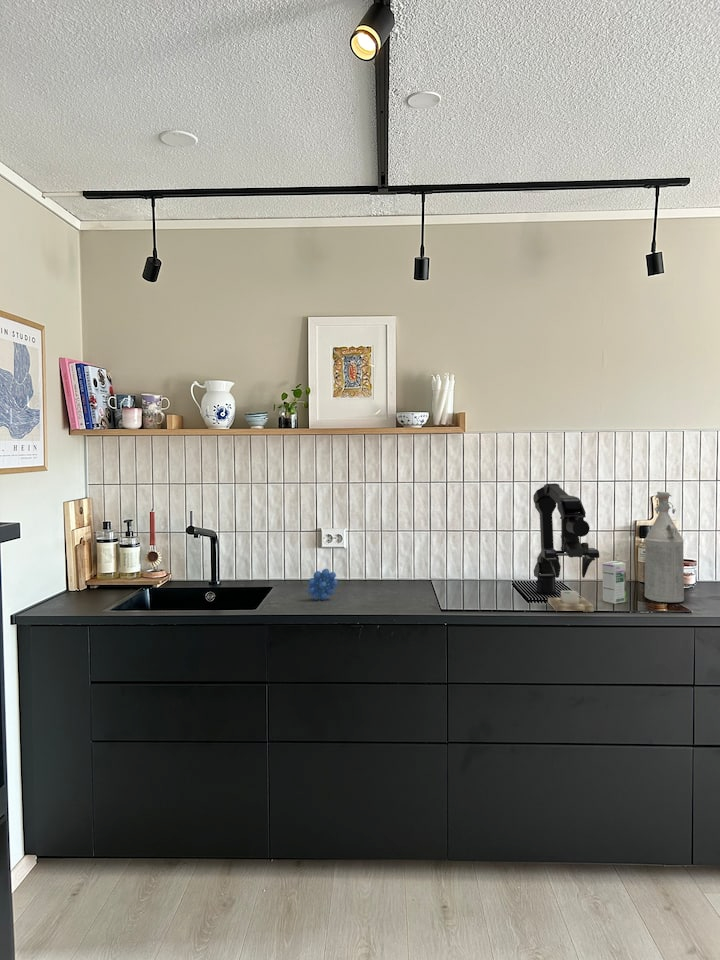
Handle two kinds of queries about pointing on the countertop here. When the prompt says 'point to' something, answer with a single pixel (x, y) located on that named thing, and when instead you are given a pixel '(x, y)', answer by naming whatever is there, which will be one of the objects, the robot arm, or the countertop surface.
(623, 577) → the syrup box
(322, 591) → the grapes
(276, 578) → the countertop surface
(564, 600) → the cream block
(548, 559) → the robot arm
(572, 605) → the socket block
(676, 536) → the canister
